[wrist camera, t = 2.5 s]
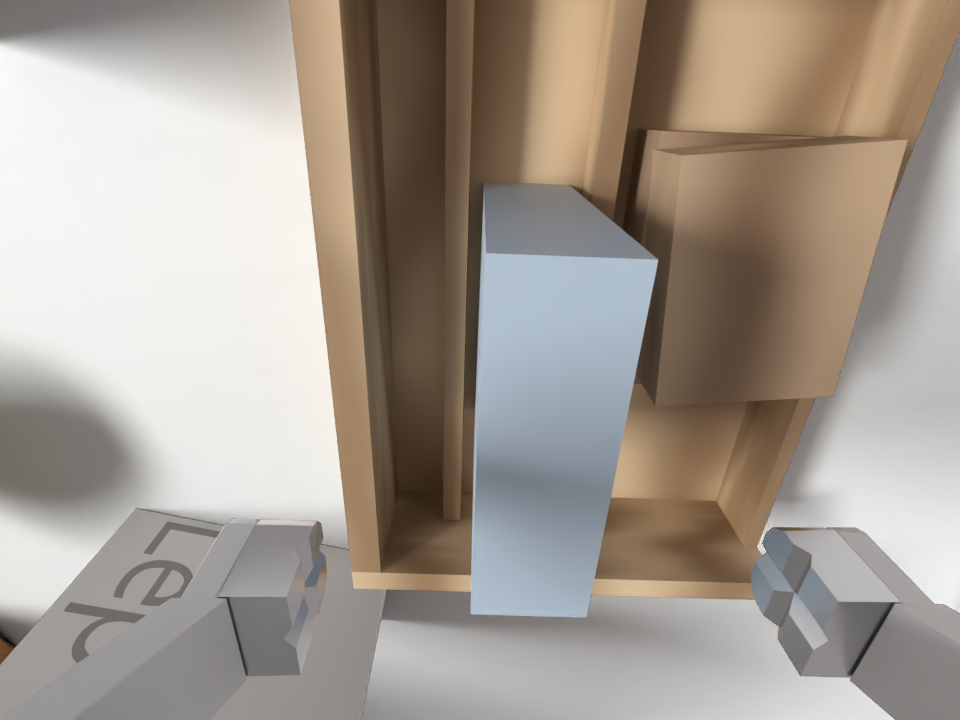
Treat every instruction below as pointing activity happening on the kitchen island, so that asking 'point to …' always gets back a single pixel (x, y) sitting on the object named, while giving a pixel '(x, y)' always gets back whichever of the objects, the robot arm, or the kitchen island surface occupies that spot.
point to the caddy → (598, 178)
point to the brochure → (166, 574)
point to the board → (550, 393)
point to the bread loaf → (5, 649)
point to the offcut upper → (760, 265)
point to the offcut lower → (643, 164)
